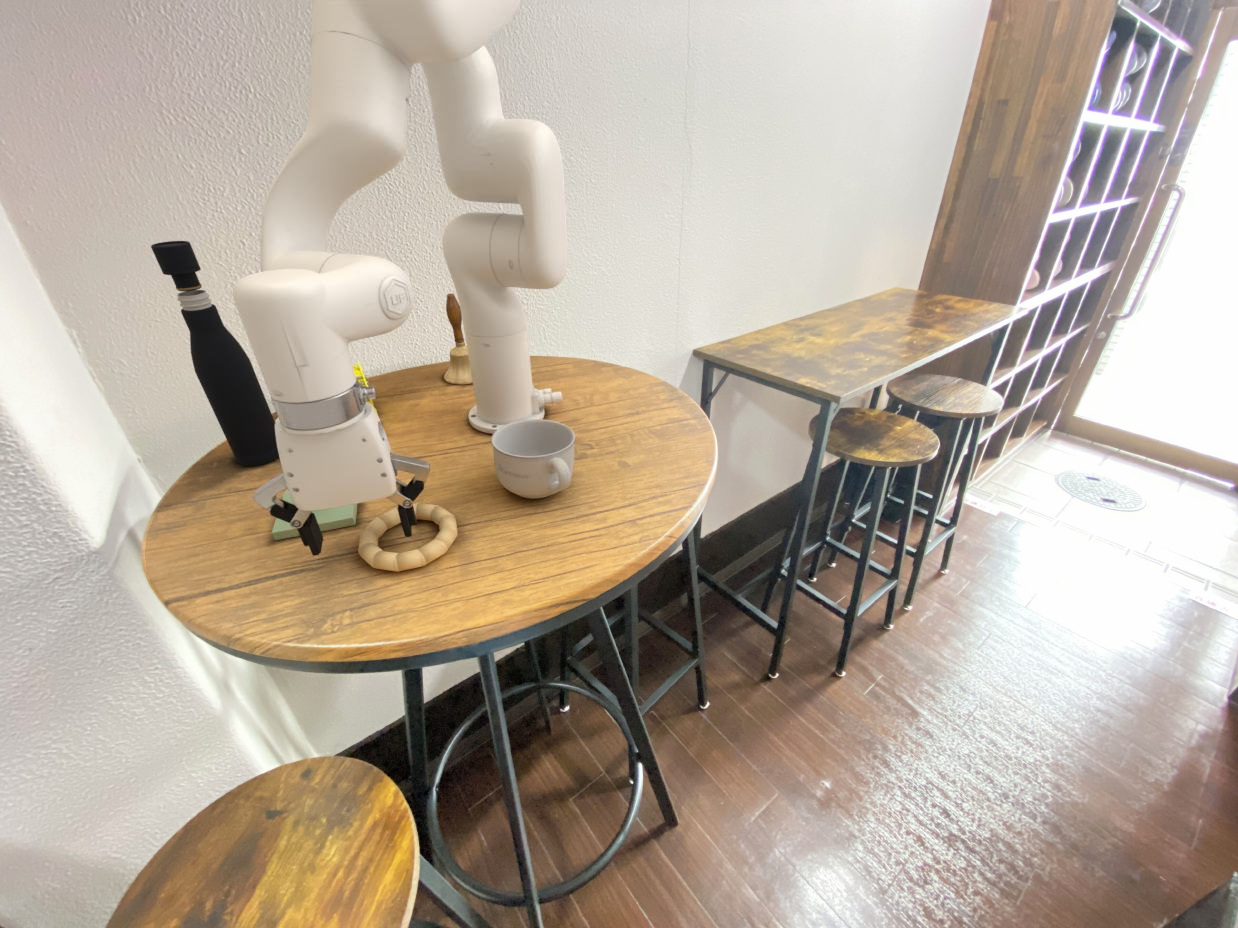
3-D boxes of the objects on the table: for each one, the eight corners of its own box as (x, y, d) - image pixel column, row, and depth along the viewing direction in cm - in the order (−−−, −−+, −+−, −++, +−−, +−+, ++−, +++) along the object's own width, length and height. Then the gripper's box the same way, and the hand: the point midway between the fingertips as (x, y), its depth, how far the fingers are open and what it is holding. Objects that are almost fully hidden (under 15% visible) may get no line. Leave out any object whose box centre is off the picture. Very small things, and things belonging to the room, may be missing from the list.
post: (359, 485, 74) (343, 434, 69) (355, 525, 66) (336, 470, 62) (287, 498, 71) (265, 445, 67) (274, 540, 64) (248, 485, 60)
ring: (454, 505, 70) (451, 493, 69) (462, 561, 61) (459, 548, 60) (364, 523, 67) (359, 510, 66) (358, 584, 58) (353, 570, 57)
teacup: (491, 473, 76) (483, 424, 72) (563, 457, 80) (560, 409, 75) (515, 532, 65) (507, 478, 61) (597, 510, 69) (595, 458, 65)
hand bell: (465, 388, 100) (451, 303, 92) (435, 378, 104) (418, 296, 95) (496, 373, 106) (485, 292, 97) (466, 364, 110) (452, 285, 101)
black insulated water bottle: (264, 468, 77) (168, 250, 61) (226, 464, 78) (122, 248, 62) (295, 446, 83) (214, 239, 66) (259, 442, 84) (171, 237, 67)
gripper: (412, 378, 58) (440, 505, 67) (229, 400, 53) (286, 534, 62) (413, 407, 52) (444, 542, 61) (206, 435, 47) (274, 577, 56)
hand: (364, 538), depth 61 cm, fingers open, 9 cm apart
